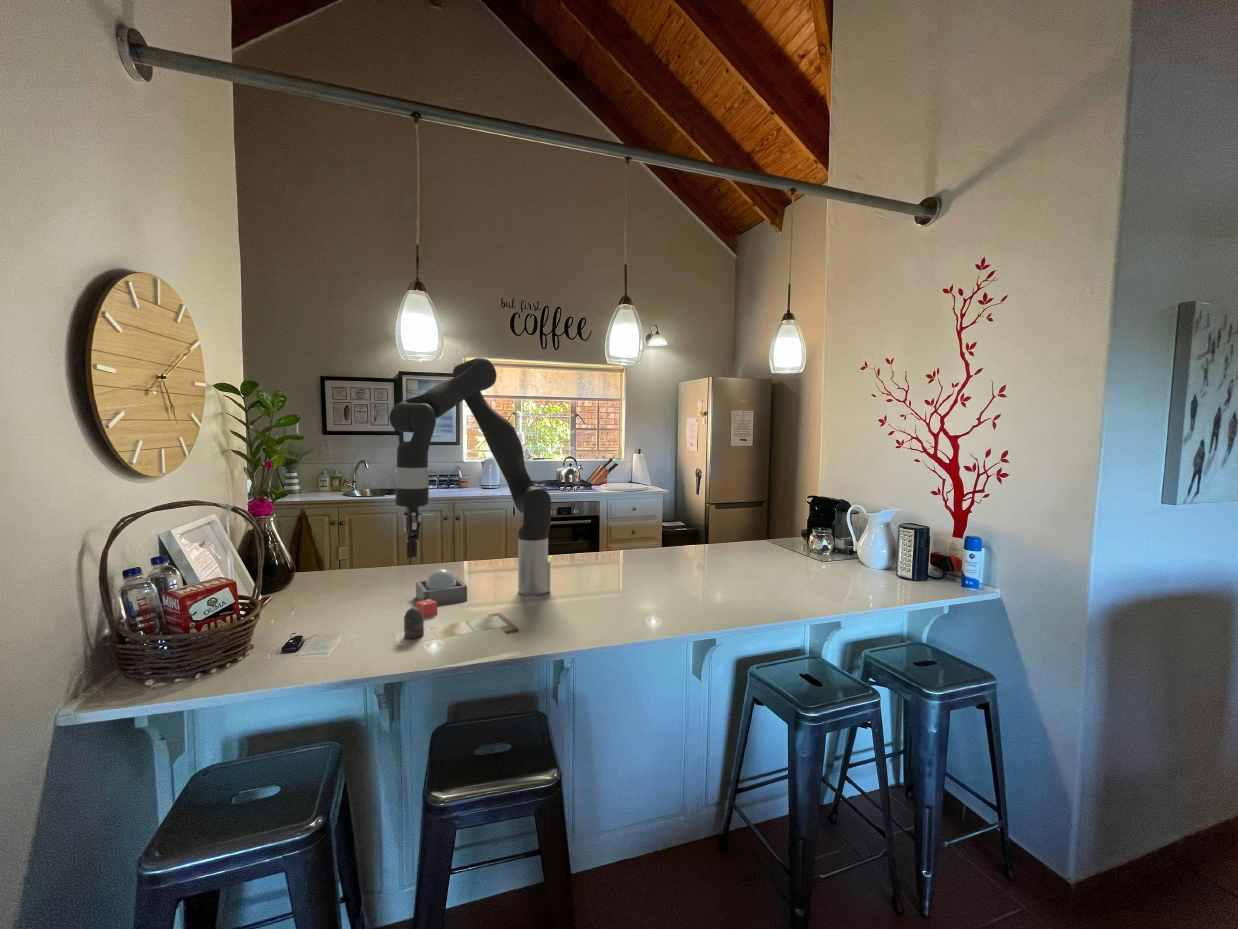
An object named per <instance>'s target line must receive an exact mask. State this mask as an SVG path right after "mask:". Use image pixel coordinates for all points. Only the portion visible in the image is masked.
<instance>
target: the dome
mask: <svg viewBox="0 0 1238 929" xmlns="http://www.w3.org/2000/svg"><path fill="white" fill-rule="evenodd" d="M454 577H455V576H454V574H453V573H452V572H451V571H450V570H448V569H445V568H438V569H436V570H434V571H433V572H431V573H430V575H429V576H428V579H427V580H428V581H427V582H426V590H427V591H429V590H436V589H443V588H451V587H456V580H455V579H454Z"/></svg>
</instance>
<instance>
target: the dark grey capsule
mask: <svg viewBox="0 0 1238 929" xmlns="http://www.w3.org/2000/svg"><path fill="white" fill-rule="evenodd" d="M424 618H425V617H423V614H422V611H421V610H420V609H419V608H416V607H411V608H409V609H408V610H406V612H405V614H404V616H403V623H404V624H403V627H404V629H403V630H404V631H403V632H404V638H405V639H408V640H415V639H419V638H422V637H423V636H424V628H425V626H424Z"/></svg>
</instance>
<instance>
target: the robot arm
mask: <svg viewBox="0 0 1238 929" xmlns="http://www.w3.org/2000/svg"><path fill="white" fill-rule="evenodd" d="M452 370H453V371H452V378H450V379H448V380H446V381H443V382H441V383H439V384H437V385H435V386H433V387H432V388H430V389H428V390H426V392H423V393H422V394H420V395H416V396H414V397H410V398H407V399H405V400H402V401H400V402H397V403H396V404H395V405H394V406H393V407H392V409H391V410H390V413H389V418H388V419H389V424H390V425H391V427H392V429H394V430H395V431H396V432H401V433H412V436H411V438H410V440H409V441H405V442H401V443H399V444H398V446H397V449H396V450H397V451H396V472H395V505H396V506H397V507H402V508H405V512H402V520H403V531H404V536H405V538H404V539H405V541H406V556H407V558H416V557H417V556H418V541H419V539H420V532H421V524H422V523H421V521H422V513H421V512H420V511H419V508H420V507H425V506H428V504H429V494H430V493H429V490H430V488H429V487H430V484H429V483H430V481H429V480H430V477H429V476H430V475H429V467H428V466H429V450H430V449H429V448H430V445H431V443H432V442H431V441H432V438H433V434H434V431H435V428H436V424H437V423H436V422H437V419H439V418H440V417H442V416H443V415H445V414H446V413H448V412H449V411H450V410H451V409H453V408H454V407H455V406H457V405H459V404H460V403H462V401H464V402H465V404H466V405H467V407H468V408H469V410H470V412H471V413H472V416H473V417H474V419H475V421H476V423H477V425H478V427H479V429H480V431H481V432H482V435H483V436H484V437H483V438H484V439H485V442H486V444H487V446H488V448H489V450H490V452H491V454H492V456H493V457H494V460H495V462H496V463H497V466H498V467H499V470H500V471H501V473H502V475H503V477H504V478H505V479H504V480H505V481H506V483H507V487H508V488H509V492H510V496H511V498H512V501H513V504H514V506H515V507H516V510H518V512H520V513H521V514H522V515H523V523H522V527H520V528H519V529H518V535H517V536H518V538H517V539H518V540H517V541H518V542H517V543H518V551H517V552H518V556H517V557H518V562H517V563H518V568H517V569H518V581H517V582H518V586H517V587H518V593H519V594H520V595H522V596H523V595H524V596H540V595H541V596H542V595H544V594H547V593H550V592H551V561H550V560H549V532H550V529H551V525H552V524H551V523H552V521H551V520H552V499H551V496H550V493H549V492H548V491H547V490H546V489H544V488H541V487H537V486H535V484H534V482H533V481H532V479H531V476H530V475H529V472H528V471H527V469H526V463H525V458H524V456H525V455H524V449H523V446H522V442H521V440H520V438H519V435H518V433H517V432H516V429H515V427H514V426H513V424H512V423H511V422H510V421H509V420H508V419H507V418H505V417H504V416H503V415H502V414H500V413H498V412H497V411H496V410H495V409H493V408H492V407H491V405H489V403H488V402H487V400H486V399H485V398H484V397H485V396H483V394H482V392H483V391H486V390H487V389H490V388H491V387H492V386H493V385H495V383H496V381H497V370H496V368H495V366H494V364H493V363H492V361H490V360H489V359H488V358H486V357H475V358H473V359H470V360H467V361H464V362H462V363H460V364H457V365H456V366H454V368H453V369H452Z"/></svg>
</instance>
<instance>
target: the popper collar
mask: <svg viewBox="0 0 1238 929" xmlns="http://www.w3.org/2000/svg"><path fill="white" fill-rule="evenodd" d="M454 579H455V580H456V587H451V588H443V589H436V590H429V591H427V590H426V582H427V581H428V579H426V580H419V581H415V598H416V599H417V600H418V602H419V601H423V600H428V599H431V600H433V601H436V602H437V607H439V606H444V605H452V604H459V603H464V602H467V601H468V585H467V584H466V583H465V582H464V581H462V579H460V578H459V577H458V576H454Z"/></svg>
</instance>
